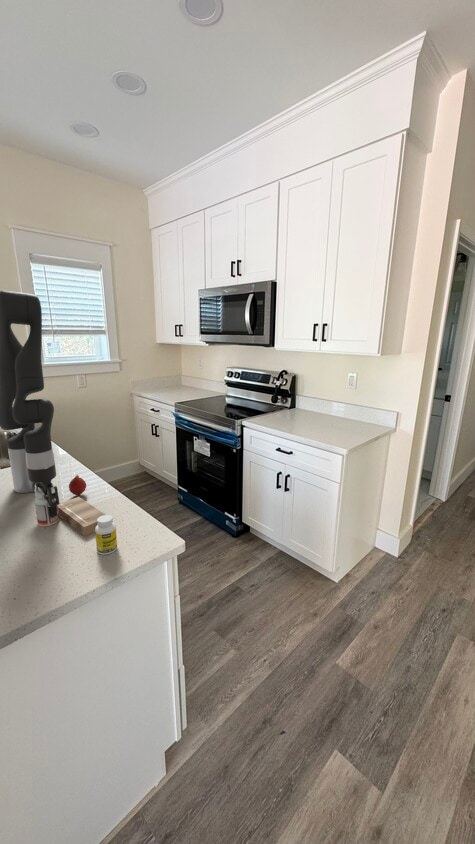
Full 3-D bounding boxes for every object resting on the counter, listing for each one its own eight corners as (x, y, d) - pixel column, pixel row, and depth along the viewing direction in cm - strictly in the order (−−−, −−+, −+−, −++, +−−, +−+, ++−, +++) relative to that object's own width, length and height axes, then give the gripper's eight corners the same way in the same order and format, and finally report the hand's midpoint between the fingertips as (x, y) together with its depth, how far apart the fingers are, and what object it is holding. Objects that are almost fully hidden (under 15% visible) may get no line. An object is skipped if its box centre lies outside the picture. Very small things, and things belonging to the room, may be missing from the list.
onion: (80, 499, 127) (78, 479, 125) (66, 498, 128) (64, 477, 126) (90, 492, 132) (88, 473, 130) (76, 491, 134) (74, 471, 131)
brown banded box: (56, 513, 118) (55, 504, 117) (79, 504, 124) (78, 496, 123) (85, 535, 105) (84, 526, 104) (109, 525, 111) (108, 516, 110)
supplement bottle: (102, 558, 95) (99, 526, 93) (93, 549, 99) (90, 518, 96) (121, 549, 99) (118, 518, 97) (111, 541, 103) (109, 511, 100)
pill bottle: (59, 515, 116) (55, 484, 113) (59, 524, 111) (55, 491, 108) (38, 519, 114) (33, 487, 111) (37, 529, 108) (32, 495, 105)
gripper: (18, 461, 109) (26, 508, 113) (37, 473, 100) (44, 524, 104) (44, 455, 114) (50, 500, 119) (63, 466, 105) (69, 514, 110)
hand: (47, 511), depth 111 cm, fingers open, 8 cm apart
